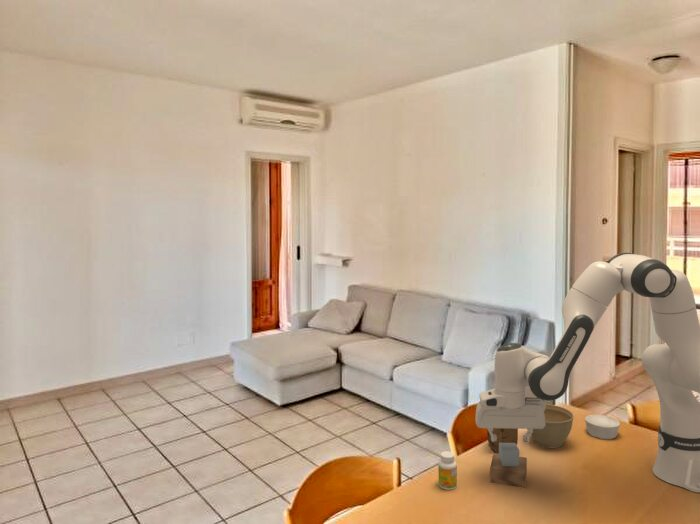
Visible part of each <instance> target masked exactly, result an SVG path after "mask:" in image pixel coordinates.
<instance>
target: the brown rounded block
mask: <svg viewBox="0 0 700 524" xmlns="http://www.w3.org/2000/svg"><path fill="white" fill-rule="evenodd" d="M486 431H487V432H486V433H487V434H486V435H487V442H488V444H489V446H490V448H491V449H492V450H493V451H494V453H497V454H499V443H516V445H517V446H518V442H519V440H518V436H519V429H512V428H493V431H492V433H493V434H496V436H497V442H492V440H491V435H490V433H489V431H488V429H487V430H486Z"/></svg>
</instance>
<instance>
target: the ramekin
mask: <svg viewBox="0 0 700 524" xmlns="http://www.w3.org/2000/svg"><path fill="white" fill-rule="evenodd" d="M584 422H585V426H586V431H587V433H588V434H589V435H590V436H591V437H594V438H596V439H599V440H613V438H614V439H615V438H616V437H617V436H618V432H619V428H620V426H621V423H620V421H619V420H618V419H616V418H614V417H612V416H608V415H604V414H589V415H587V416H585V417H584Z"/></svg>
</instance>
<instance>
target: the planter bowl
mask: <svg viewBox="0 0 700 524" xmlns="http://www.w3.org/2000/svg"><path fill="white" fill-rule="evenodd" d="M544 415H545V427H544V428H543V429H533V433H532V434H531V436H530V437H532V438H533V442H534V443H535V444H536V445H538V446H541V447H543V448H547V449H558V448H560V447H561V446H562V445H563V444H564V441H565V440H567V438H568V437H569V435H570V433H571V430H572V427H573V420H574V413H573V412H572V411H570V410H569V409H567V408H565V407H563V406H559V405H555V404H548V403H547V404H546V408H545V411H544Z"/></svg>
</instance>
